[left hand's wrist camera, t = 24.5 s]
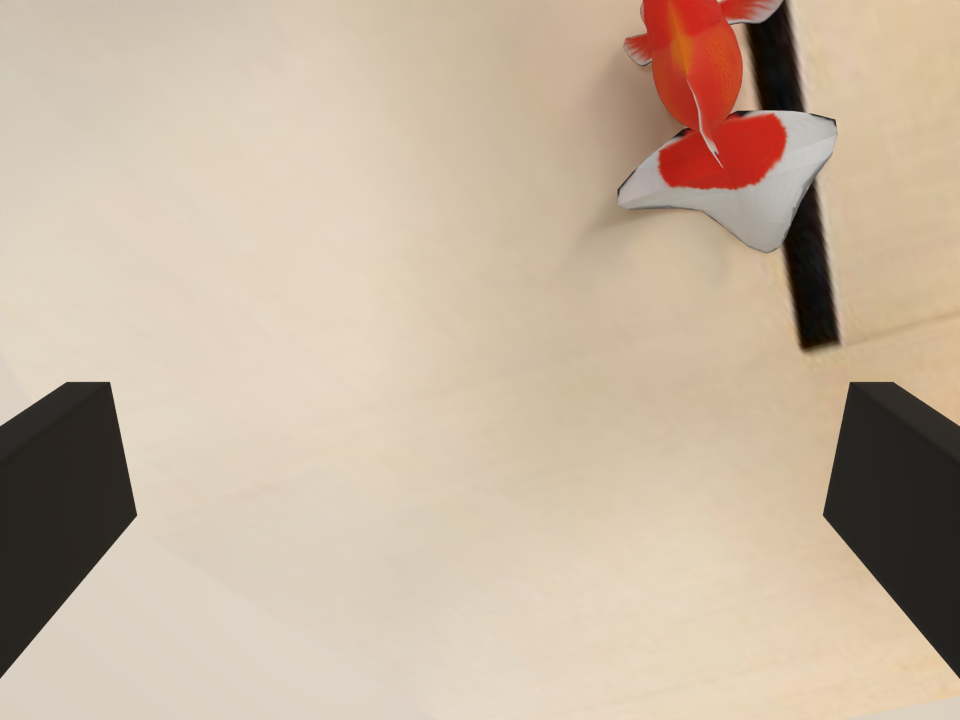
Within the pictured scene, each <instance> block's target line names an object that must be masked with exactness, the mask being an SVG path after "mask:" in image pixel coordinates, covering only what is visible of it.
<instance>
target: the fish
mask: <svg viewBox="0 0 960 720" xmlns="http://www.w3.org/2000/svg"><path fill="white" fill-rule="evenodd" d="M783 1H784V0H722V1H720V2H717V1H716V0H643V1H642V4H641V8H640V13H641V18H642V20H643V22H644V24H645V25H646V28H647V33H646V34H642V35H637V36H634V37H629V38H626V40H625V44H624V45H623V47H624V49H625V51H626V52H627V54H628V55H629V57H631V58H632V59H633V60H634V61H635V62H636V63H637V64H639V65H641V66H645V65H647V64H649V63H650V62H652V69H653V77H654V82H655V85H656V88H657V91H658V94H659V96H660V98H661V100H662V102H663V104H664V105H665V107H666V108H667V110H668V111H669V113H670V114H671V115H672V116H673V117H674V118H675V119H676V120H677V121H679V122H680V123H682V124H683V125H685V126H687V127H689V128H687V129H683V130H682V131H680V132H679V133H678V134H677V135H675V136H674V137H673V138H671V139H670V140H669V141H668V142H666V143H665V144H664V145H663V146H661V147H660V148H659V149H658V150H656V151H655V152H654V153H653V154H651V155H650V156H649V157H648V158H647V159H646V160H645V161H644V162H642V163H641V164H640V165H639V166H638V167H637V168H636V169H635V170H634V171H633V173H632V174H631V175H630V176H629V177H628V178H627V179H626V181H625V182H624V183H623V184H622V185H621V186H620V188H619V189H618V206H620V207H623V208H626V209H629V210H632V209H662V208H681V209H690V210H698V211H703V212H704V213H705V214H707V215H708V216H710V217H711V218H712V219H714V220H715V221H716V222H718V223H719V224H721V225H722V226H724V227H725V228H726V229H728V230H729V231H730V232H731V233H732V234H733V235H735V236H736V237H737V238H738V239H739V240H740V241H742V242H743V243H744V244H745V245H747V246H748V247H750V248H753V249H755V250H758V251H761V252H763V253H770V252H773V251H775V250H776V249H778V248H779V247H780V246H781V244H782V243H783V241H784V239H785V238H786V236H787V233H788V230H789V228H790V225H791V223H792V220H793V218H794V216H795V214H796V211H797V209H798V207H799V205H800V202H801V200H802V199H803V197H804V195H805V193H806V192H807V190H808V188H809V186H810V185H811V183H812V181H813V179H814V178H815V176H816V175H817V174H818V172H819V171H820V170H821V169H822V167H823V166H824V165H825V163H826V162H827V161H828V159H829V158H830V157H831V155H832V152H833V148H834V145H835V142H836V138H837V135H838V133H837V127H836V120H835V119H831V118H827V117H823V116H819V115H815V114H810V113H802V112H794V111H736V112H734V113H732V114H730V112H731V110H732V108H733V106H734V104H735V101H736V99H737V96H738V94H739V91H740V88H741V83H742V72H743V64H742V57H741V53H740V49H739V46H738V43H737V40H736V36H735V34H734V32H733V30H732V28H731V26H730V25H732V24H738V23H749V24H760V23H762V22H764V21H766V20H767V19H768V18H769V17H770V16H771V15H772V14H773V13H774V12H775V11H776V10H777V9H778V8H779V6H780V5H781V3H782V2H783ZM729 114H730V115H729Z"/></svg>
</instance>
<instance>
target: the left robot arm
mask: <svg viewBox="0 0 960 720" xmlns="http://www.w3.org/2000/svg"><path fill="white" fill-rule="evenodd" d="M136 516H137V512H136V507H135V503H134V498H133V493H132V488H131V483H130V478H129V473H128V468H127V463H126V458H125V453H124V448H123V444H122V439H121V434H120V429H119V424H118V419H117V414H116V409H115V404H114V399H113V394H112V389H111V385H110V382H66V383H65V384H63V385H62V386H60V387H59V388H57V389H56V390H54V391H53V392H51V393H50V394H48V395H47V396H45V397H44V398H42V399H41V400H39V401H38V402H36V403H35V404H33V405H32V406H30V407H29V408H27V409H26V410H24V411H23V412H21V413H20V414H18V415H17V416H15V417H14V418H12V419H11V420H9V421H8V422H6V423H5V424H3V425H2V426H0V678H1V677H2V676H3V675H4V673H5V672H6V671H7V670H8V669H9V668H10V666H11V665H12V664H13V663H14V662H15V660H16V659H17V658H18V657H19V656H20V654H21V653H22V652H23V651H24V650H25V648H26V647H27V646H28V645H29V644H30V642H31V641H32V640H33V639H34V638H35V637H36V635H37V634H38V633H39V632H40V631H41V629H42V628H43V627H44V626H45V625H46V623H47V622H48V621H49V620H50V619H51V617H52V616H53V615H54V614H55V613H56V612H57V610H58V609H59V608H60V607H61V606H62V604H63V603H64V602H65V601H66V600H67V598H68V597H69V596H70V595H71V594H72V592H73V591H74V590H75V589H76V588H77V586H78V585H79V584H80V583H81V582H82V581H83V579H84V578H85V577H86V576H87V575H88V573H89V572H90V571H91V570H92V569H93V567H94V566H95V565H96V564H97V563H98V562H99V560H100V559H101V558H102V557H103V556H104V554H105V553H106V552H107V551H108V550H109V548H110V547H111V546H112V545H113V544H114V542H115V541H116V540H117V539H118V538H119V536H120V535H121V534H122V533H123V532H124V531H125V529H126V528H127V527H128V526H129V525H130V523H131V522H132V521H133V520H134V519H135V517H136ZM823 516H824V517H825V519H826V520H827V521H828V522H829V523H830V525H831V526H832V527H833V528H834V529H835V531H836V532H837V533H838V534H839V535H840V536H841V538H842V539H843V540H844V541H845V542H846V544H847V545H848V546H849V547H850V548H851V550H852V551H853V552H854V553H855V554H856V556H857V557H858V558H859V559H860V560H861V562H862V563H863V564H864V565H865V566H866V567H867V569H868V570H869V571H870V572H871V573H872V575H873V576H874V577H875V578H876V579H877V581H878V582H879V583H880V584H881V585H882V587H883V588H884V589H885V590H886V591H887V592H888V594H889V595H890V596H891V597H892V598H893V600H894V601H895V602H896V603H897V604H898V606H899V607H900V608H901V609H902V610H903V612H904V613H905V614H906V615H907V616H908V618H909V619H910V620H911V621H912V622H913V623H914V625H915V626H916V627H917V628H918V629H919V631H920V632H921V633H922V634H923V635H924V637H925V638H926V639H927V640H928V641H929V643H930V644H931V645H932V646H933V647H934V648H935V650H936V651H937V652H938V653H939V654H940V656H941V657H942V658H943V659H944V660H945V662H946V663H947V664H948V665H949V666H950V668H951V669H952V670H953V671H954V672H955V674H956V675H957V676H958V677H959V678H960V426H958V425H957V424H955V423H954V422H952V421H951V420H949V419H948V418H946V417H945V416H943V415H942V414H940V413H939V412H937V411H936V410H934V409H933V408H931V407H930V406H928V405H927V404H925V403H924V402H922V401H921V400H919V399H918V398H916V397H915V396H913V395H912V394H910V393H909V392H907V391H906V390H904V389H903V388H901V387H900V386H898V385H897V384H895V383H894V382H850V384H849V389H848V394H847V399H846V404H845V409H844V414H843V419H842V424H841V429H840V434H839V439H838V444H837V448H836V453H835V458H834V463H833V468H832V473H831V478H830V483H829V488H828V493H827V498H826V503H825V507H824V512H823Z"/></svg>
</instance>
